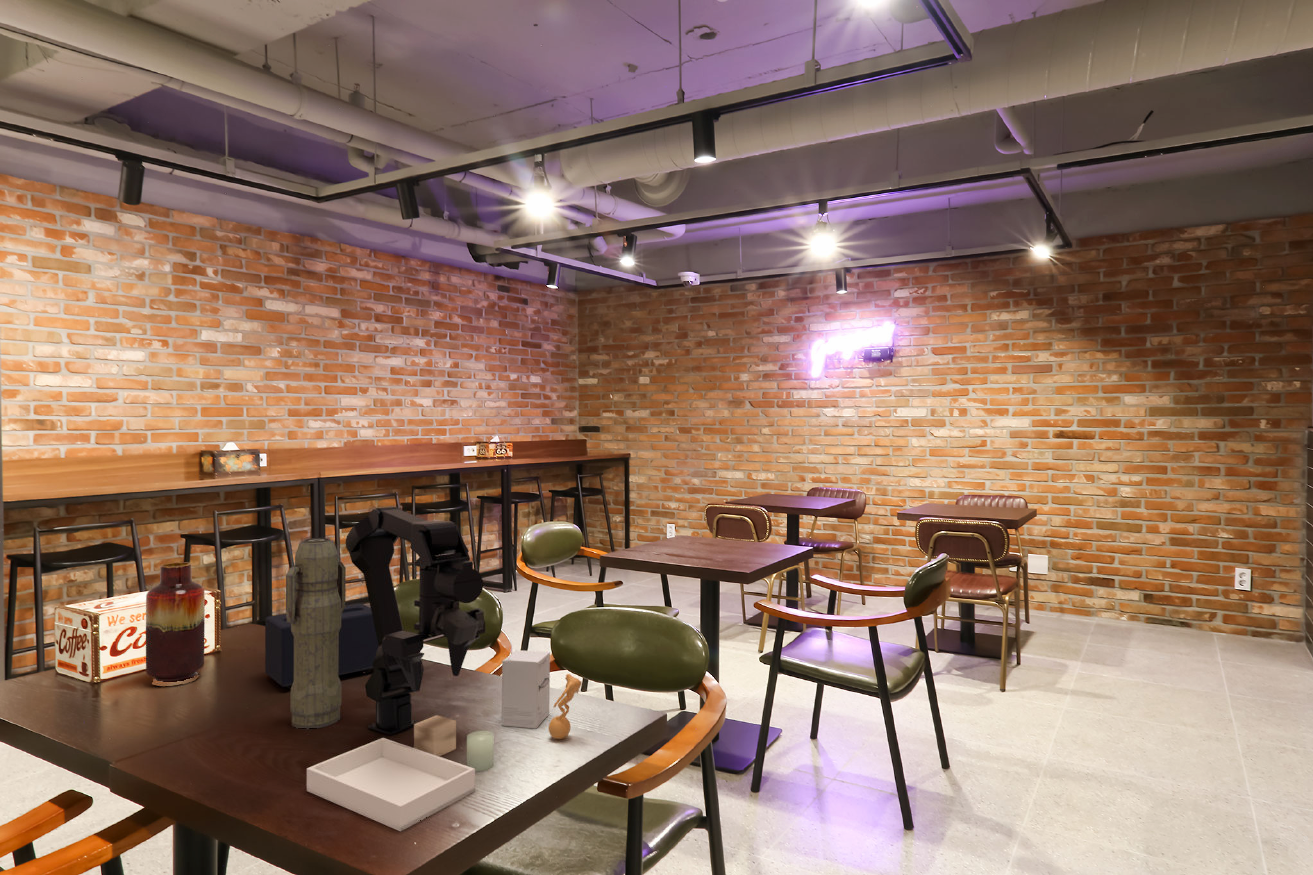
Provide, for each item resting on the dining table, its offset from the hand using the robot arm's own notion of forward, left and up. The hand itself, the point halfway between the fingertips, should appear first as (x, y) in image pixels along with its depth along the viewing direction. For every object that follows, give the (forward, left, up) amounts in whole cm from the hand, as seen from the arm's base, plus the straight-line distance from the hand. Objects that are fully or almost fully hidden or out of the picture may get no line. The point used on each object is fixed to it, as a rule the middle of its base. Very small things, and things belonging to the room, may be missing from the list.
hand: (435, 682), depth 131 cm
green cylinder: (+11, 0, -12) cm, 16 cm away
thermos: (-30, -3, -12) cm, 32 cm away
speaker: (-53, +14, -12) cm, 56 cm away
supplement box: (+4, +19, -12) cm, 23 cm away
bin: (+6, -14, -12) cm, 19 cm away
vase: (-78, -6, -12) cm, 79 cm away
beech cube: (0, 0, -12) cm, 12 cm away
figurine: (+16, +16, -12) cm, 26 cm away
